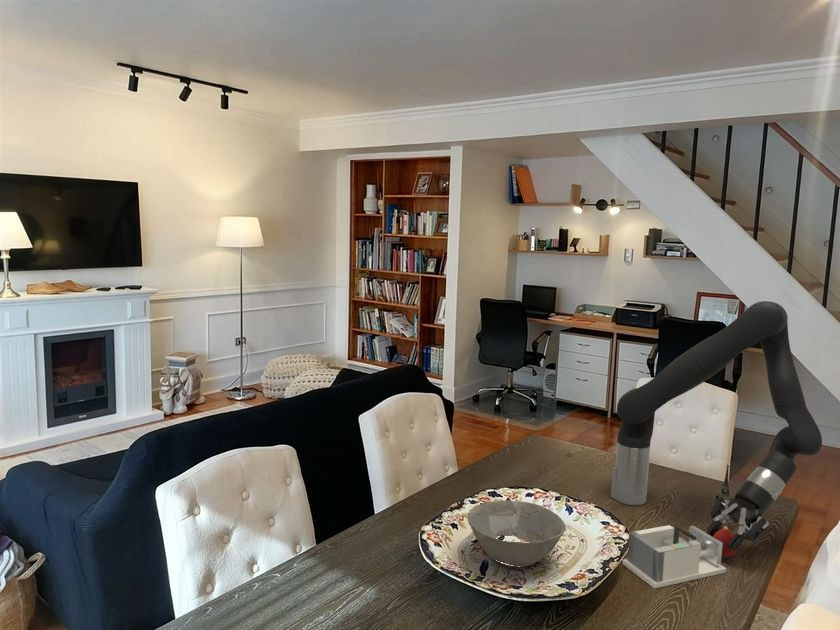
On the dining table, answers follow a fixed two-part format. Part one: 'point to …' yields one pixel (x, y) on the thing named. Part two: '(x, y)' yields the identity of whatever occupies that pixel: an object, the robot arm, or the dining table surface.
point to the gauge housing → (666, 558)
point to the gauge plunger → (709, 545)
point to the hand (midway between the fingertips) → (719, 542)
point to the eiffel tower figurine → (722, 493)
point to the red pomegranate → (725, 541)
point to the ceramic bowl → (516, 530)
